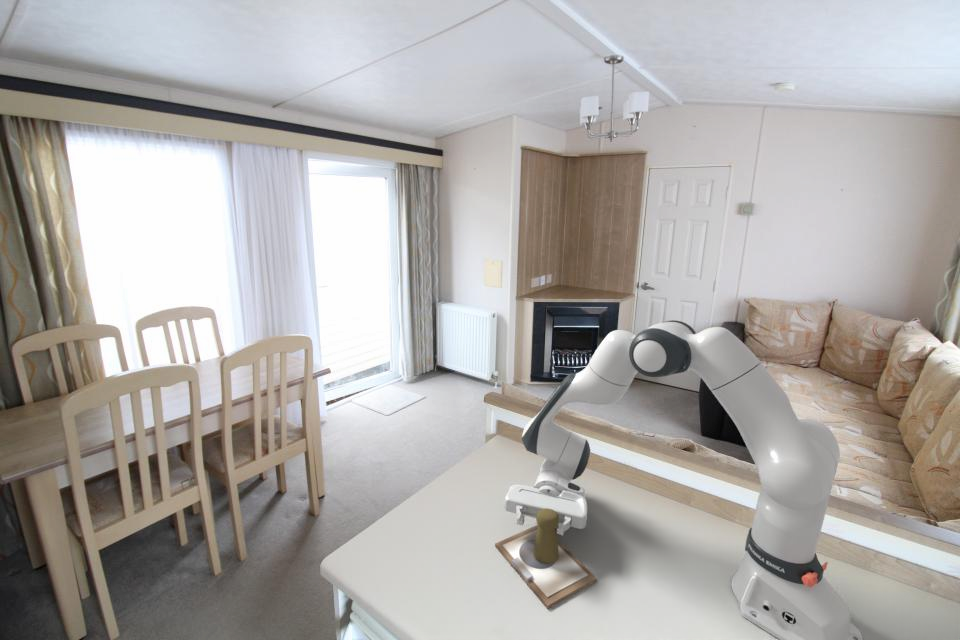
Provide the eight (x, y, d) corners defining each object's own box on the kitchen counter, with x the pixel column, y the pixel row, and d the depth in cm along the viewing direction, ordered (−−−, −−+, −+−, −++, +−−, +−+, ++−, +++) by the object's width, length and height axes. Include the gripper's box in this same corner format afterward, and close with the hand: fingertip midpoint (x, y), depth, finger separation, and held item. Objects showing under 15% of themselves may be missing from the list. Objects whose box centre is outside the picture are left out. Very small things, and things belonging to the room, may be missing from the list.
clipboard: (596, 580, 100) (596, 575, 100) (547, 608, 93) (547, 602, 93) (540, 526, 117) (540, 520, 116) (495, 546, 110) (495, 540, 109)
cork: (558, 565, 102) (561, 522, 100) (532, 561, 103) (534, 518, 101) (558, 547, 108) (561, 506, 106) (533, 543, 109) (535, 503, 107)
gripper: (512, 473, 119) (496, 505, 106) (590, 489, 113) (584, 526, 100) (511, 493, 121) (496, 527, 108) (588, 511, 114) (582, 549, 102)
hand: (539, 527), depth 104 cm, fingers open, 8 cm apart
